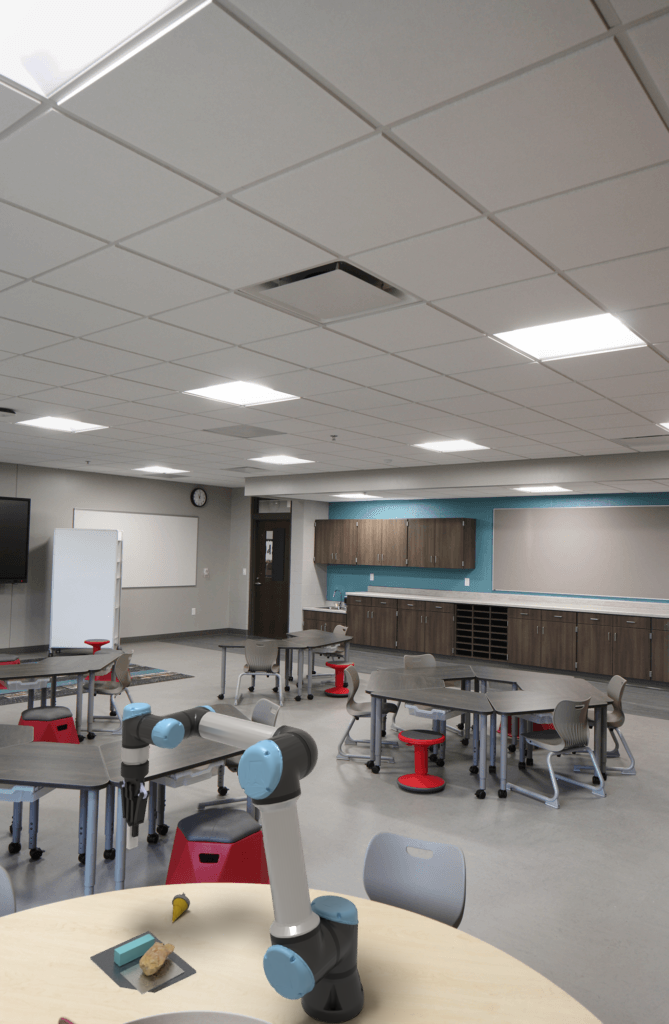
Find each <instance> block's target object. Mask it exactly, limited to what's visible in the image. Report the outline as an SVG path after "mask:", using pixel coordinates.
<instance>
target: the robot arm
mask: <svg viewBox="0 0 669 1024" xmlns="http://www.w3.org/2000/svg"><path fill="white" fill-rule="evenodd" d="M121 721H122V722H121V725H122V726H121V728H122V729H121V749H120V755H121V757H120V761H121V763H120V776H121V777H122V778H123V780H120V781H118V784H119V785H118V786H119V788H120V799H121V800H120V801H121V812H122V818H123V819H125V823H126V847H125V848H126V849H127V850H132V849H136V848H138V847H139V835H140V834H139V831H140V825H141V824H144V823H145V819H146V818H145V817H146V811H147V806H148V805H147V804H148V799H149V797H150V795H151V794H150V793H151V792H150V790H146V788H145V786H146V782H145V778H146V776H147V775H149V773H150V761H149V759H150V748H151V745H153V746H155V747H157V748H161V749H168V750H171V749H175V748H177V747H178V746H179V745H180V744H182V742H183V740H185V739H190V738H192V737H193V738H194V737H197V738H201V739H205V740H208V741H212V742H215V743H220V744H223V745H226V746H230V747H233V748H237V749H240V750H243V751H244V752H243V754H242V755H241V756H240V759H239V762H238V768H237V777H238V783H239V786H240V788H241V789H242V790H244V791H243V792H244V794H245V795H246V796H247V797H249V798H250V799H251V803H252V806H253V807H256V808H257V809H258V810H259V813H260V820H261V827H262V836H263V842H264V843H263V844H264V849H265V850H264V851H265V857H266V858H265V859H266V865H267V871H268V879H269V880H268V881H269V887H270V894H271V903H272V908H273V916H274V920H273V921H272V923H271V925H270V926H269V936H270V946H269V947H268V948H267V950H266V951H265V953H264V955H263V959H262V967H263V972H264V975H265V978H266V980H267V981H268V983H269V984H270V986H271V988H273V989H274V990H275V992H276V993H277V994H278V995H279V996H282V997H283V998H285V999H286V1000H287V999H288V1000H292V1001H293V1000H299V999H301V1000H300V1002H301V1005H302V1009H303V1010H304V1012H305V1013H306V1014H307V1015H309V1017H311V1018H312V1019H315V1020H317V1021H319V1022H323V1023H330V1024H338V1023H343V1022H347V1021H349V1020H353V1018H355V1017H356V1016H357V1015H359V1014H360V1012H361V1011H362V1009H363V1008H364V1003H365V1001H364V1000H365V999H364V998H365V992H364V991H365V990H364V987H363V984H362V981H361V976H360V972H359V970H358V939H359V936H358V935H359V916H358V915H359V914H358V913H359V912H358V908H357V907H356V904H355V903H354V902H353V901H352V900H350V899H348V898H345V897H342V896H338V895H331V894H330V895H327V894H325V895H321V896H317V897H315V898H313V900H311V896H310V889H309V882H308V877H307V876H308V874H307V868H306V861H305V853H304V846H303V841H302V834H301V828H300V820H299V813H298V807H297V806H298V805H297V802H298V800H299V799H300V797H301V796H302V789H301V782H300V780H302V779H305V778H306V777H308V776H309V775H310V774H312V772H313V771H314V769H315V767H316V766H317V762H318V758H319V750H318V745H317V742H316V741H315V739H314V738H313V736H312V735H311V733H310V734H309V733H308V732H307V731H306V730H304V729H302V728H297V727H294V726H289V725H285V724H282V725H281V724H280V726H272V725H268V724H265V723H260V722H256V721H251V720H248V719H243V718H240V717H235V716H231V715H226V714H223V713H218V712H216V711H215V709H214V708H212V706H211V705H207V704H206V705H198V706H195V707H192V708H190V709H189V708H188V709H185V710H181V711H177V712H175V713H170V714H167V715H164V716H163V715H162V716H161V715H156V714H154V713H153V714H152V707H151V704H149V703H147V702H131V703H129V704H127V705H125V706H124V707H123V711H122V719H121Z"/></svg>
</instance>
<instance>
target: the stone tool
mask: <svg viewBox="0 0 669 1024" xmlns="http://www.w3.org/2000/svg"><path fill="white" fill-rule="evenodd" d="M163 943H164V942H163ZM163 943H159V942H155V943H154V945H153V946H152V947H151V948H150V949H149V950H148V951H146V953H145V954H144V955H143V957H142V958H141V959H140V961H139V962H140V963H139V966H140V968H141V969H142V970H143V972H144V973H145V974H146V976H147V975H152V974H154V973H157V971H158V970H159V969H160V968H161V966H162V965H163V964H164V962H165V960H166V958H167V957H168V955H170V954H171V953H172V952H174V951H175V949H176V948H175V947H176V946H175V945H173V944H171V943H169V942H168V943H166V944H165V945H163Z"/></svg>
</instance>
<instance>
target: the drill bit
mask: <svg viewBox="0 0 669 1024" xmlns="http://www.w3.org/2000/svg"><path fill="white" fill-rule="evenodd" d="M171 905H172V919H171V921H172V924H173V923H174V922H175V921H176V920H177V919H178V918H179V917H180V916H181V915H182V914H183V913H184V912H186V911H187V910H188V909H189V908H190V906H191V900H190V899H189V898H188V897H187V896H186V893H185V892H182V894H180V893H179V894H175V895H174V897H173V898H172V901H171Z"/></svg>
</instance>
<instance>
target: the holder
mask: <svg viewBox="0 0 669 1024" xmlns="http://www.w3.org/2000/svg"><path fill="white" fill-rule="evenodd" d="M147 934H150V935H151V936H152V937H154V938H155V942H159V943H163V945H166V944H165V943H164V942H163V941H161V940H160V939H159V938H158V937H157V936H155V934H154V933H152V932H151V931H149V930H147V931H144V932H143V933H140V934H138V935H136V936H134V937H132V938H129V939H127V940H125V941H123V942H121V943H119V944H118V943H117V944H116V945H114V946H112V947H109V948H107V949H104V950H103V951H100V952H99V953H96V954H93V955H92V956H90V960H91V961H92V962H93V963H94V964H95V965H96V966H97V967H98V968H99V970H101V971H102V972H104V973H105V975H106V976H107V977H109V978H110V980H112V981H113V982H114V984H116V985H117V986H118V987H119V988H123V989H129V990H135V991H137V992H139V993H140V994H141V995H144V994H147V993H153V994H155V993H157V992H159V991H162V990H164V989H166V988H168V987H170V986H172V985H174V984H176V983H178V982H180V981H183V980H184V979H187V978H188V977H191V976H193V975H195V974H196V973H197V970H196V969H195V968H194V967H192V965H190V964H189V963H188V962H187V961H185V960H184V959H183V958H181V957H180V956H179V955H178V954H177V953H176V952H174V951H173V952H172V953H171V954H170V955H168V957H167V958H166V960H165V962H164V964H163V965H162V966H161V968H160V969H159V970H158V971H157V973H154V974H152V975H147V976H146V974H145V973H144V972H143V970H142V969H141V968H140V966H139V963H140V962H139V961H140V959H141V958H142V957H143V956H141V957H138V958H136V959H134V960H132V961H130V962H128V963H126V964H124V965H122V966H120V967H119V966H118V965H117V964H116V963H115V962H114V949H116V948H119V947H121V946H123V945H125V944H127V943H129V942H132V941H134V940H136V939H138V938H140V937H143V936H145V935H147Z"/></svg>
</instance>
